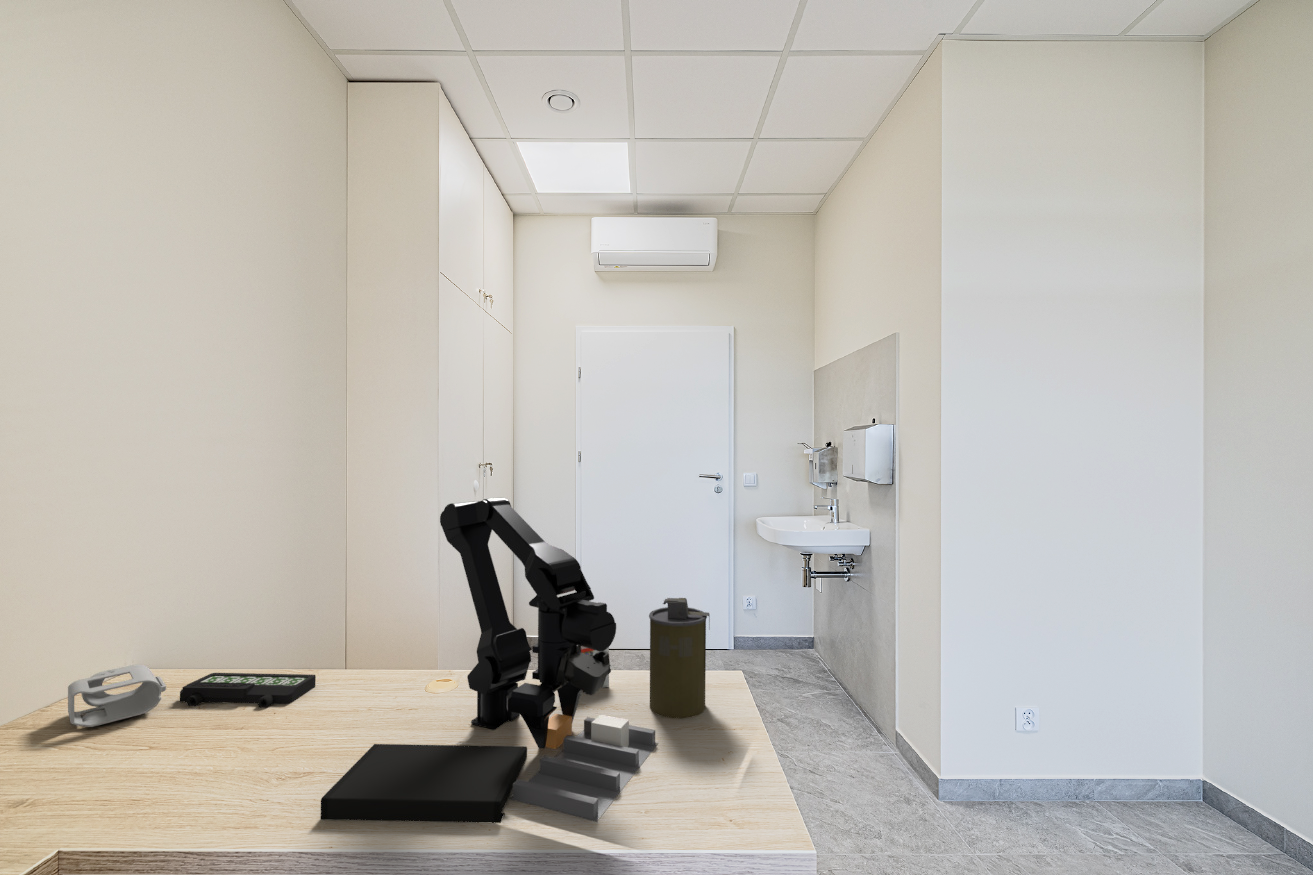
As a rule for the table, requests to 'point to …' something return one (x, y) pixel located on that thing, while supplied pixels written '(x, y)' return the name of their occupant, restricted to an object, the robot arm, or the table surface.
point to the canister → (677, 660)
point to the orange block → (558, 730)
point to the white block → (610, 730)
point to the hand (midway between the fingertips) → (555, 735)
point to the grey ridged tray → (585, 773)
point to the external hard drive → (426, 784)
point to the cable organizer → (115, 696)
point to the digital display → (247, 688)
